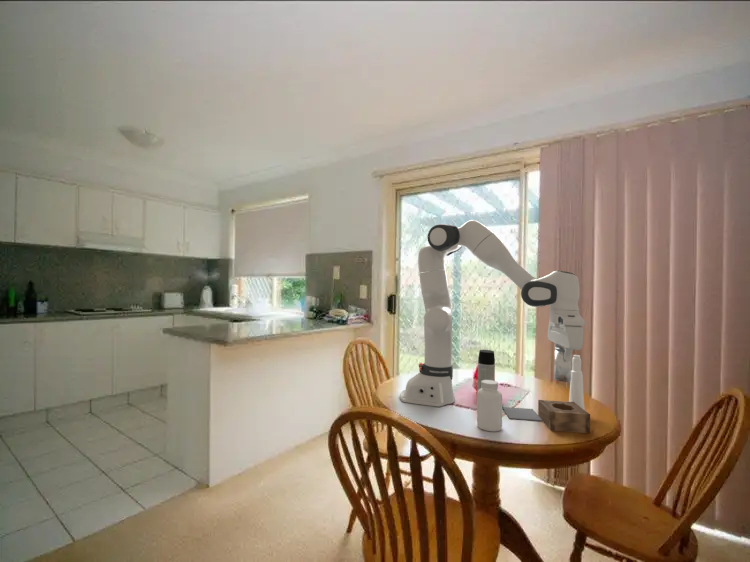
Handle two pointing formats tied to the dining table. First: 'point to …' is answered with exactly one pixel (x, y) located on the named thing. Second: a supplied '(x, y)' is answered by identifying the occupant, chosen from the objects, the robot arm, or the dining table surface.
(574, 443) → the dining table surface
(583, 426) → the socket block
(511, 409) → the mat
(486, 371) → the spray can
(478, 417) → the pill bottle
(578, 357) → the cosmetic bottle
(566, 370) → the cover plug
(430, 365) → the robot arm
